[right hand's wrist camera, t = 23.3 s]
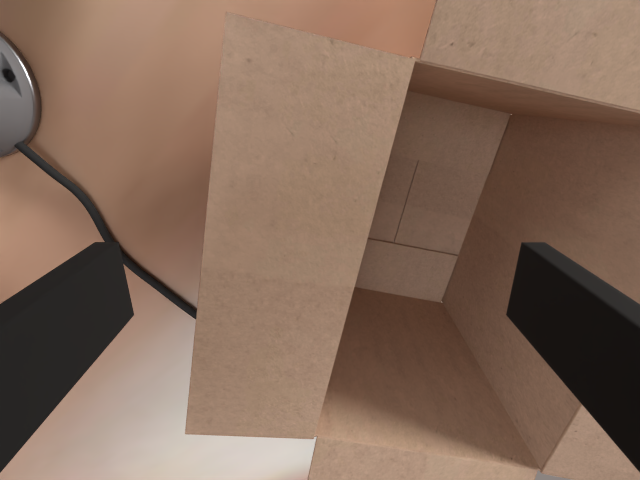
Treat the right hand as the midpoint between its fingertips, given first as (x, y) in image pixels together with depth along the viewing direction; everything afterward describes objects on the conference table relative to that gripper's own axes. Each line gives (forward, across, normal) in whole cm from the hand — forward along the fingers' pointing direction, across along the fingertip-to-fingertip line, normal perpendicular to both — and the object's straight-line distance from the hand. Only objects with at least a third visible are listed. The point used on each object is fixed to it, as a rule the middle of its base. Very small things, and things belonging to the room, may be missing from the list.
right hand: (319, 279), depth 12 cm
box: (+34, -11, +7) cm, 37 cm away
